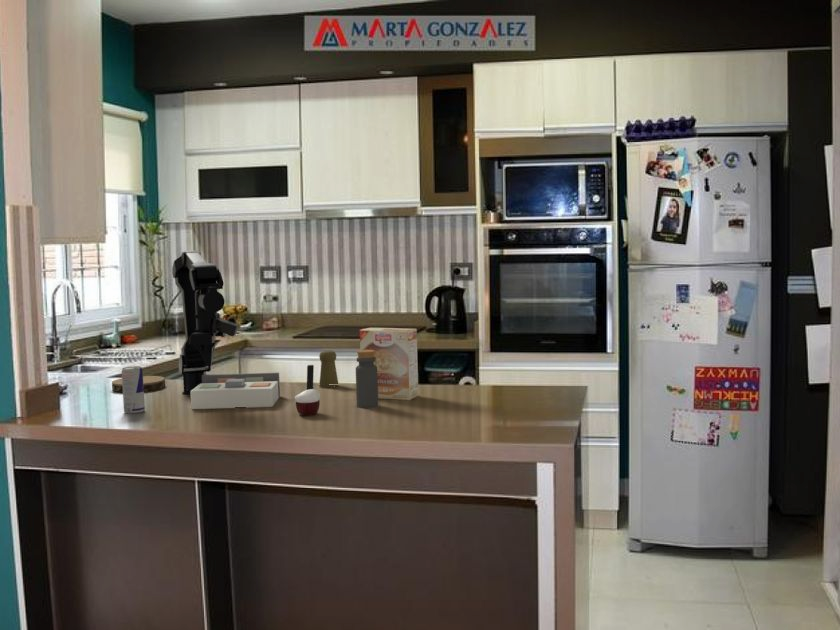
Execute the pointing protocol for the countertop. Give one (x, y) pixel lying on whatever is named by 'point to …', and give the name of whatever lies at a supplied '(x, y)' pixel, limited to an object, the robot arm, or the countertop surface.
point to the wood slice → (148, 382)
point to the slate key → (235, 383)
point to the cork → (328, 369)
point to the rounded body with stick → (308, 396)
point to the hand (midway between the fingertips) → (209, 366)
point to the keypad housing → (236, 391)
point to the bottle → (366, 380)
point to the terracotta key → (260, 385)
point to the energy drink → (133, 389)
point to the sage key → (210, 386)
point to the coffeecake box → (393, 360)
